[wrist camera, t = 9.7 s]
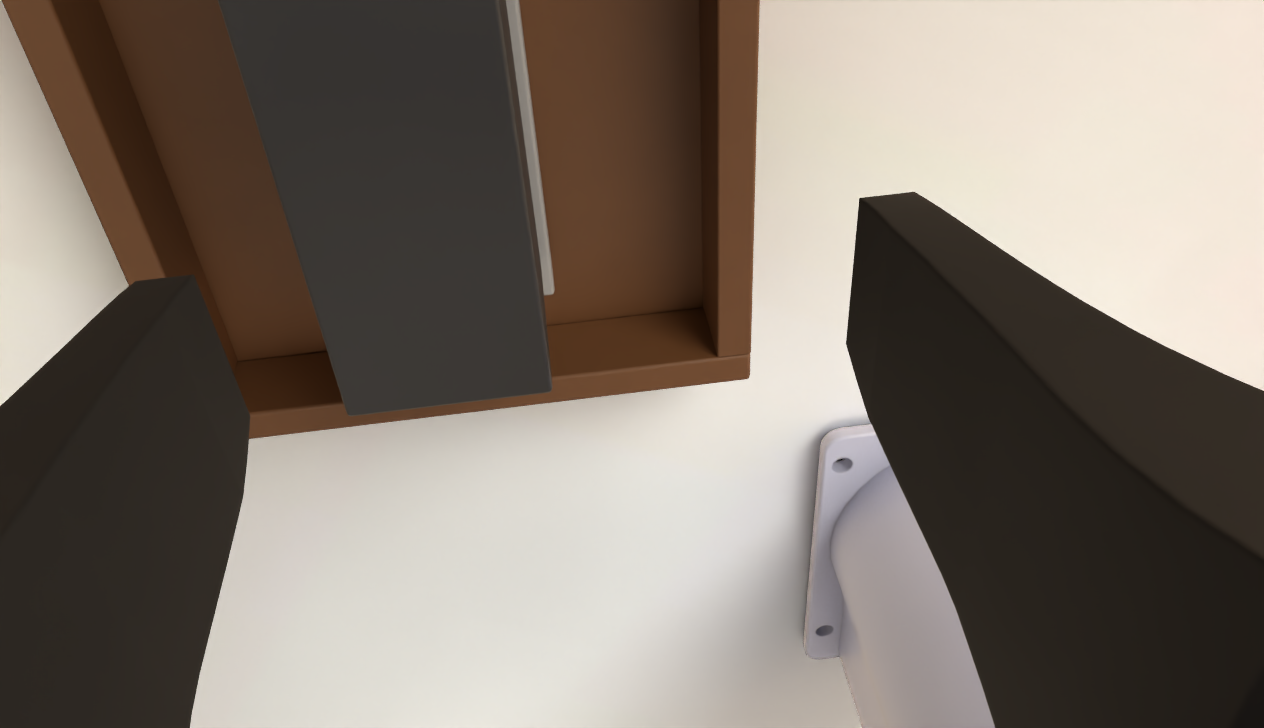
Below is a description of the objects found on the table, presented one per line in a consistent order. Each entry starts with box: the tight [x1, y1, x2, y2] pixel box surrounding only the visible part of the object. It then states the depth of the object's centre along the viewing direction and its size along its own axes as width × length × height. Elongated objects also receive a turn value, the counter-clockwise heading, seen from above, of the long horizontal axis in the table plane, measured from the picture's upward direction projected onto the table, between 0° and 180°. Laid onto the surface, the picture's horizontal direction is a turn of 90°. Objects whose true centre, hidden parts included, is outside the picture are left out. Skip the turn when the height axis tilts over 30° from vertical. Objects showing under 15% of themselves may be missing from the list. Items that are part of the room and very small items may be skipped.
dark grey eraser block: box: [218, 0, 555, 416], centre depth 16 cm, size 12×4×5 cm, turn 3°
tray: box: [2, 0, 760, 439], centre depth 17 cm, size 16×11×2 cm
